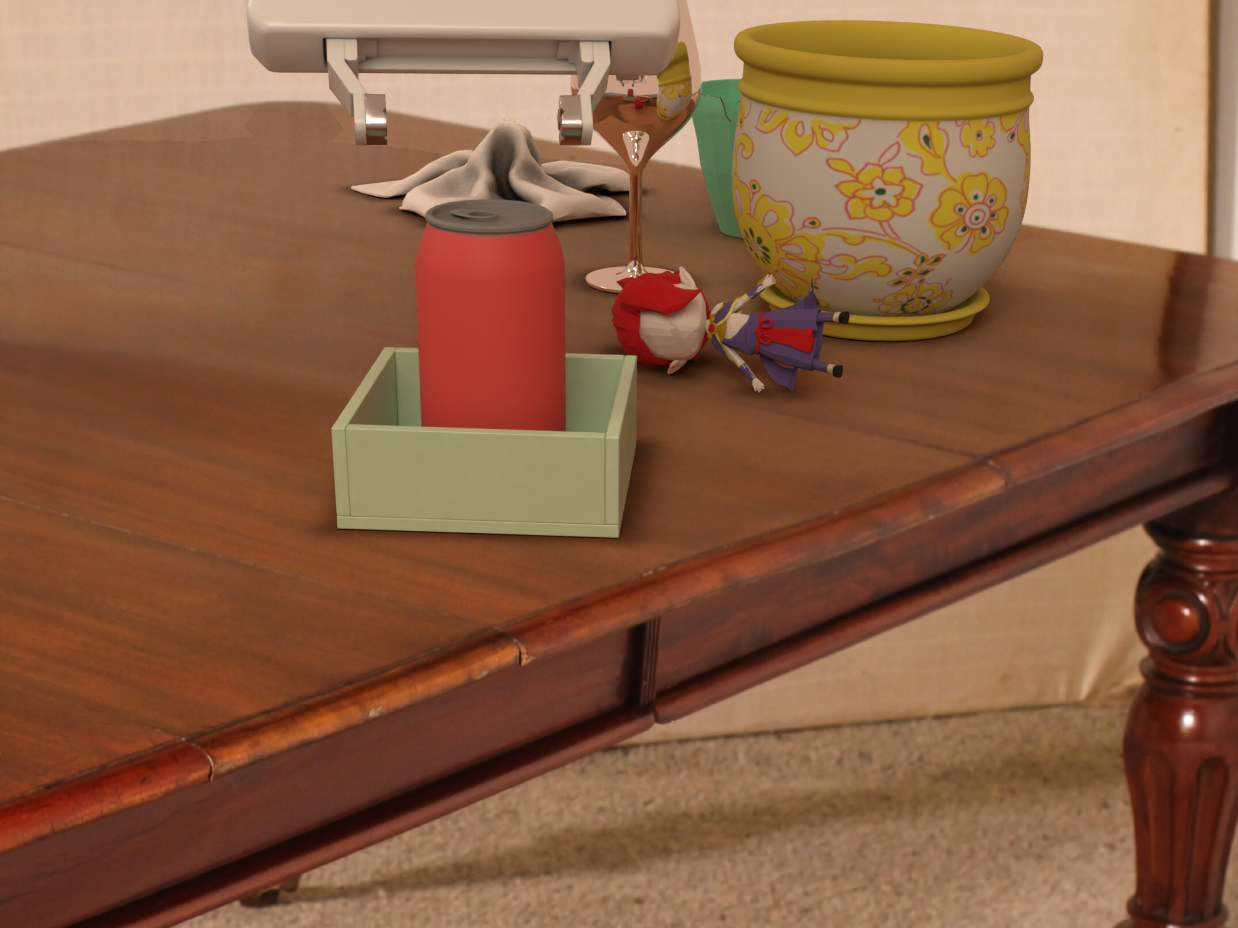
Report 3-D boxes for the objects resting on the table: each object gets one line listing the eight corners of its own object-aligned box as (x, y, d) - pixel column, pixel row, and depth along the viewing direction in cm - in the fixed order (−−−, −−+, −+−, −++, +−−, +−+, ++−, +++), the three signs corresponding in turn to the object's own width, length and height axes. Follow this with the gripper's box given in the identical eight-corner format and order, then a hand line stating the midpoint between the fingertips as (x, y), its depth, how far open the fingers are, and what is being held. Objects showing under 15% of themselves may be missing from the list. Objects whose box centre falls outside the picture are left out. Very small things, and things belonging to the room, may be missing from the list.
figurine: (815, 408, 97) (558, 369, 102) (869, 399, 104) (627, 363, 110) (830, 282, 95) (568, 249, 101) (883, 282, 103) (637, 251, 108)
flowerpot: (894, 375, 105) (915, 71, 98) (665, 309, 116) (669, 32, 109) (1075, 318, 117) (1104, 45, 110) (852, 264, 128) (867, 12, 121)
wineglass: (545, 279, 122) (542, -13, 114) (639, 260, 127) (641, -20, 120) (630, 305, 117) (632, 1, 109) (724, 284, 122) (732, -7, 115)
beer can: (467, 440, 91) (460, 190, 86) (591, 461, 89) (590, 206, 84) (395, 483, 85) (383, 218, 80) (525, 506, 83) (521, 236, 78)
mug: (694, 247, 131) (698, 100, 127) (678, 216, 140) (681, 77, 136) (900, 247, 133) (910, 102, 129) (872, 216, 142) (880, 80, 138)
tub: (337, 528, 82) (331, 427, 80) (388, 437, 93) (384, 346, 91) (618, 538, 82) (619, 437, 80) (636, 445, 93) (637, 355, 91)
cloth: (638, 178, 152) (639, 100, 150) (648, 230, 135) (648, 143, 133) (358, 173, 150) (354, 94, 148) (332, 226, 133) (327, 138, 131)
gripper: (231, -156, 87) (237, 95, 82) (669, -143, 91) (698, 98, 86) (242, -63, 93) (249, 177, 88) (653, -54, 97) (680, 176, 92)
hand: (475, 138), depth 87 cm, fingers open, 8 cm apart
